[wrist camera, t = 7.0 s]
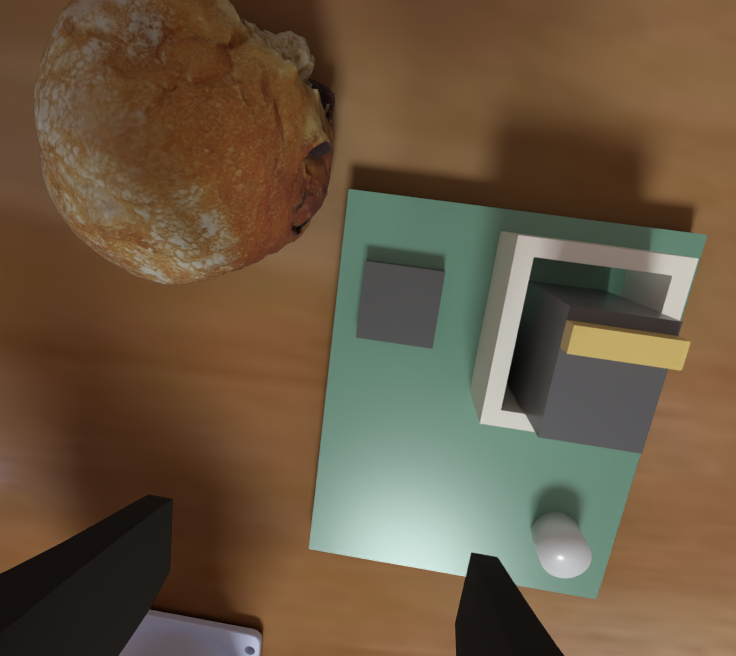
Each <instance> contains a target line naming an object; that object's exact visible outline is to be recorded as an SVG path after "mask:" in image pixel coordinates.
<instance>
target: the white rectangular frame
mask: <svg viewBox="0 0 736 656" xmlns="http://www.w3.org/2000/svg"><path fill="white" fill-rule="evenodd" d="M534 257H537V258H545V259H552V260H560V261H567V262H575V263H582V264H590V265H597V266H605V267H612V268H620V269H627V272H626V276H625V280H624V283H623V287H622V291H621V295H620V297H623V298H625V299H628V300H630V301H633V302H635V303H638V304H640V305H643V306H645V307H647V308H650V309H652V310H655V311H657V312H660V313H662V314H665V315H667V316H670V317H672V318H674V319H677V320H679V321H680V319H681V315H682V312H683V309H684V305H685V302H686V299H687V296H688V292H689V289H690V286H691V282H692V279H693V276H694V273H695V269H696V266H697V263H698V258H692V257H686V256H680V255H674V254H667V253H661V252H655V251H649V250H641V249H634V248H626V247H618V246H611V245H603V244H595V243H588V242H580V241H573V240H565V239H557V238H550V237H542V236H534V235H527V234H519V233H511V232H504V231H500V236H499V242H498V247H497V252H496V257H495V262H494V267H493V272H492V278H491V283H490V288H489V293H488V298H487V303H486V309H485V314H484V319H483V324H482V329H481V334H480V339H479V345H478V350H477V355H476V360H475V365H474V370H473V376H472V381H471V386H470V394H471V397H472V400H473V404H474V407H475V410H476V413H477V416H478V419H479V422H480V424H486V425H492V426H499V427H505V428H512V429H518V430H524V431H531V432H535V431H534V429H533V427H532V426H531V424H530V422H529V420H528V418H527V417H526V415H525V413H524V411H523V409H522V408H521V406H520V404H519V402H518V400H517V399H516V397H515V395H514V393H513V391H512V390H511V388H510V386H509V384H508V382H507V379H508V375H509V370H510V365H511V361H512V356H513V352H514V347H515V342H516V338H517V333H518V328H519V324H520V319H521V314H522V310H523V305H524V300H525V296H526V291H527V286H528V282H529V277H530V272H531V268H532V263H533V258H534Z"/></svg>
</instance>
